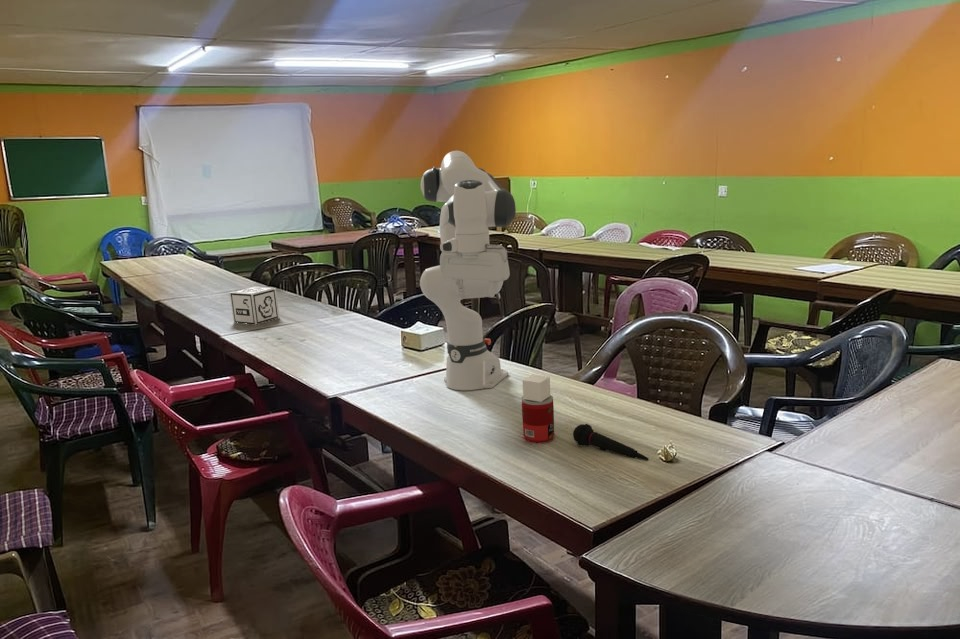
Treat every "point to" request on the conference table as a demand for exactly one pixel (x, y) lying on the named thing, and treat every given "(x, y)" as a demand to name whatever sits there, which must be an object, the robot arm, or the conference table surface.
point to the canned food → (538, 420)
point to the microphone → (603, 442)
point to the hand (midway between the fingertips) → (475, 295)
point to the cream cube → (536, 388)
